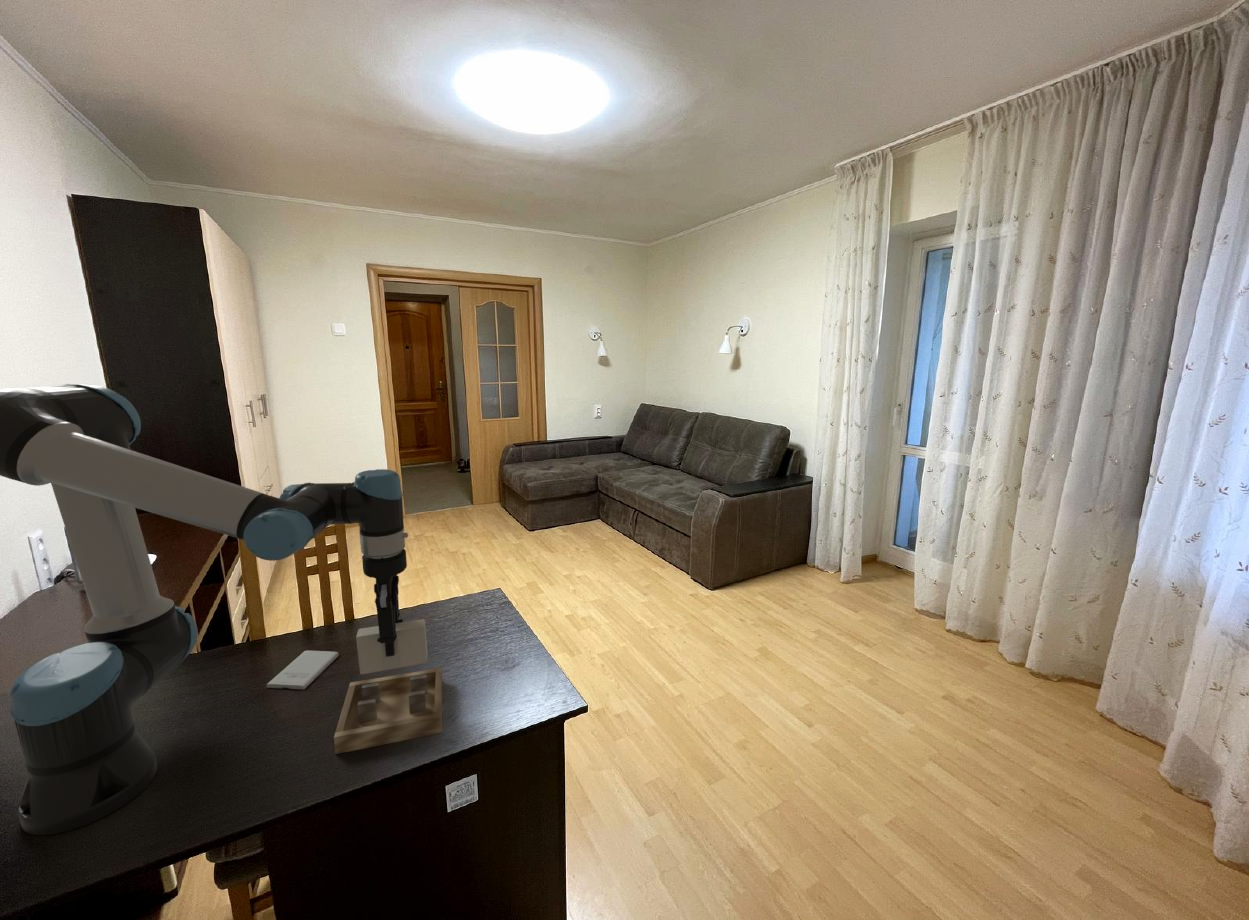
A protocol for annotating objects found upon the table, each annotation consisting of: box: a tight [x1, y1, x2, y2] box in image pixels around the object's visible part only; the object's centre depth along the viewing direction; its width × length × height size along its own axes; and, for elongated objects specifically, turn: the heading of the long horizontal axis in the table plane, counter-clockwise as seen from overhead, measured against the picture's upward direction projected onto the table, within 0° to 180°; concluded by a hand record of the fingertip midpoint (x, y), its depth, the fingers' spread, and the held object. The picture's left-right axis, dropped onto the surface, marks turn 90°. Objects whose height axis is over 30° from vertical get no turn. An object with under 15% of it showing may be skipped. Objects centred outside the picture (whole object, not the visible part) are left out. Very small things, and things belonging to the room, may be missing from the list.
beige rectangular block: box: [355, 618, 429, 675], centre depth 98 cm, size 12×3×8 cm, turn 109°
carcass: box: [333, 667, 443, 755], centre depth 99 cm, size 18×16×5 cm
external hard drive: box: [266, 650, 339, 690], centre depth 112 cm, size 2×8×12 cm
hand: (393, 662), depth 99 cm, fingers closed on beige rectangular block, 3 cm apart
